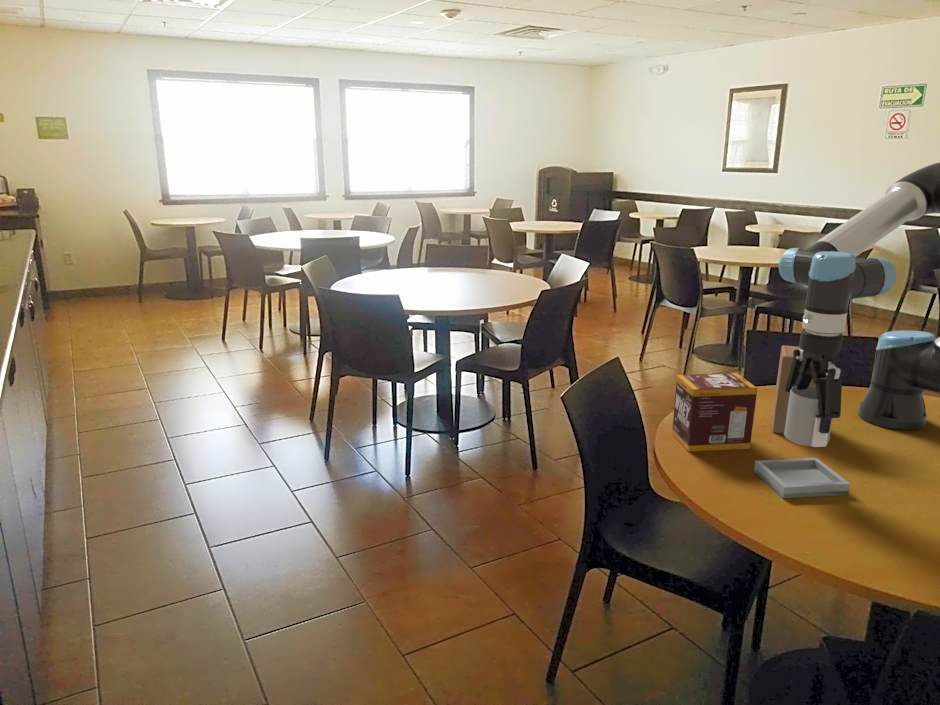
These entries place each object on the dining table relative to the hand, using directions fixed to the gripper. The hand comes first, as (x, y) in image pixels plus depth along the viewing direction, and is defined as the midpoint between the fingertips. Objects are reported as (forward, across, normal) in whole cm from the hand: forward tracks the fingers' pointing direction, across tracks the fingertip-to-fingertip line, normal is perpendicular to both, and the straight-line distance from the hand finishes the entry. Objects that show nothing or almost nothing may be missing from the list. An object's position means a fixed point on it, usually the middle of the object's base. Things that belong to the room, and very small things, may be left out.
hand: (806, 436), depth 142 cm
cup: (+1, 0, 0) cm, 1 cm away
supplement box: (+11, -22, -10) cm, 27 cm away
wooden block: (+11, -27, +14) cm, 32 cm away
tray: (+11, 0, 0) cm, 11 cm away
